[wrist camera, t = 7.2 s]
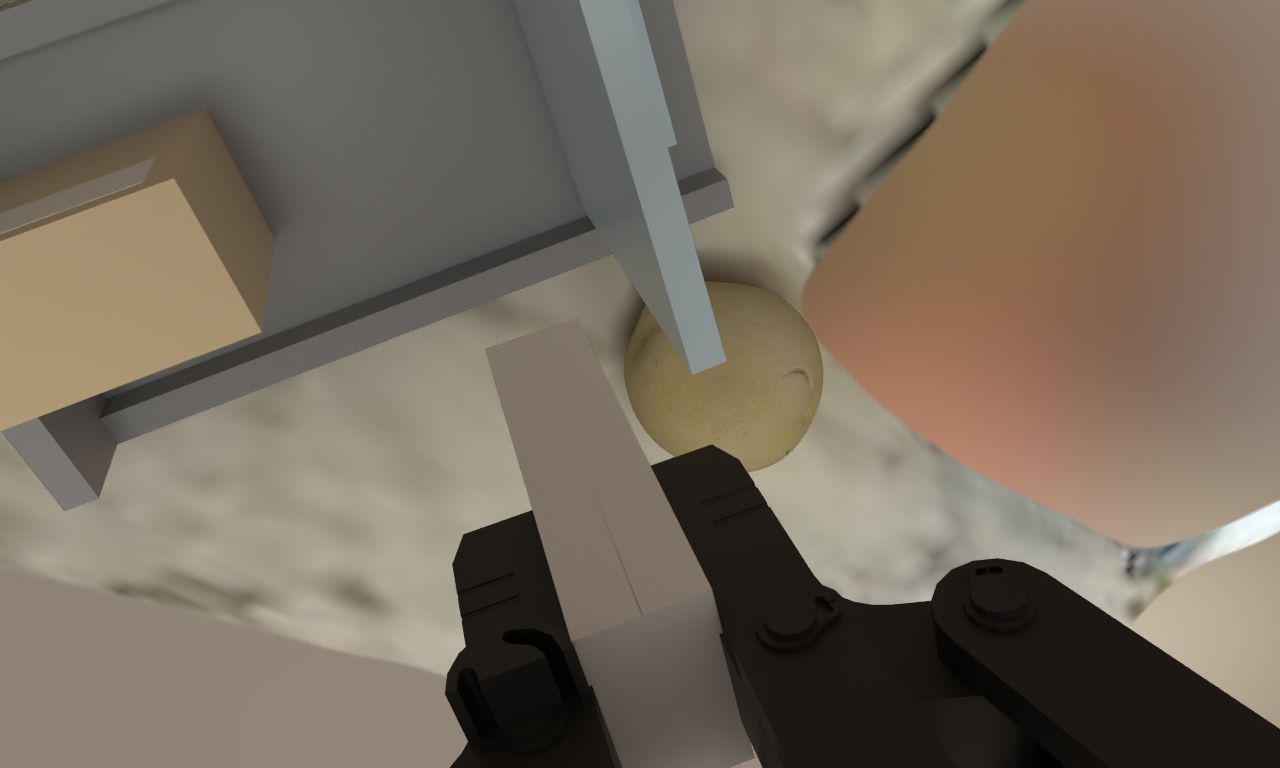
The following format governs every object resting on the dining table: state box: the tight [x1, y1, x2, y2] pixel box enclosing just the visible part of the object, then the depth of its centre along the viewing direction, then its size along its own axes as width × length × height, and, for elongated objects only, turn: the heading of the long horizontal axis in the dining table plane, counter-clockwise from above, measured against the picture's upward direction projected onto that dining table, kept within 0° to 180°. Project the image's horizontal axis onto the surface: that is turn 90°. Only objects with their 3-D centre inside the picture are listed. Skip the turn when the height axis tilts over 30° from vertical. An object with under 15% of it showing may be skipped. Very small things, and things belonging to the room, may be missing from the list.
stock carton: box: [0, 108, 275, 431], centre depth 31 cm, size 5×8×8 cm, turn 107°
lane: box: [0, 0, 734, 511], centre depth 33 cm, size 14×26×6 cm, turn 107°
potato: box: [624, 281, 823, 472], centre depth 41 cm, size 8×8×8 cm
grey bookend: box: [512, 0, 726, 375], centre depth 30 cm, size 11×4×14 cm, turn 17°
